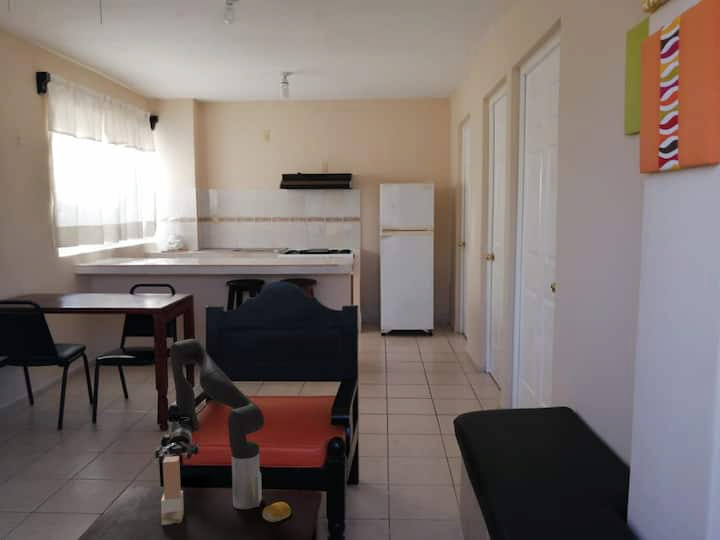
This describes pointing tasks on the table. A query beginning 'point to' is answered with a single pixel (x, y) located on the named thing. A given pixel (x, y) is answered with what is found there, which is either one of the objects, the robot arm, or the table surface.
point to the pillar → (171, 477)
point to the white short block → (172, 504)
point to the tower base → (172, 517)
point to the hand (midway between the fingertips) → (175, 457)
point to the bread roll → (276, 512)
